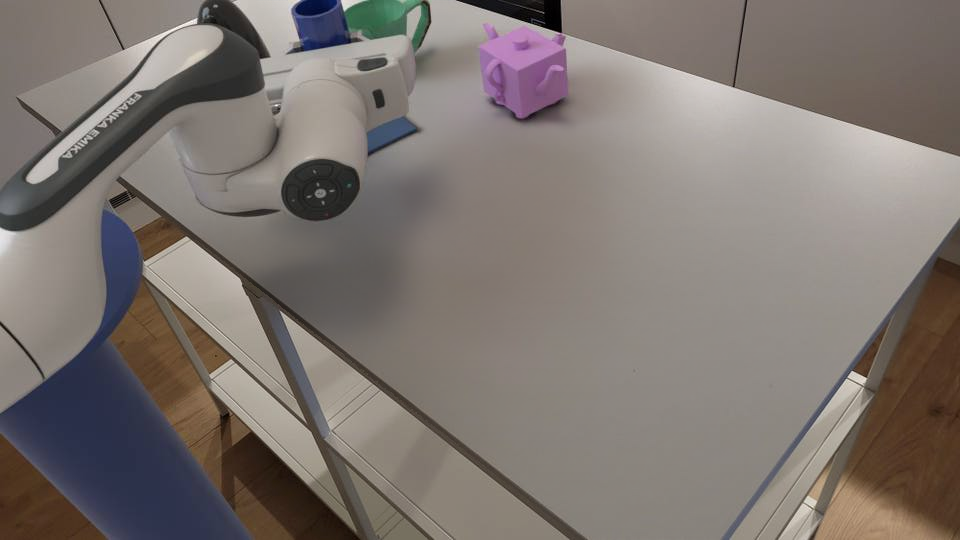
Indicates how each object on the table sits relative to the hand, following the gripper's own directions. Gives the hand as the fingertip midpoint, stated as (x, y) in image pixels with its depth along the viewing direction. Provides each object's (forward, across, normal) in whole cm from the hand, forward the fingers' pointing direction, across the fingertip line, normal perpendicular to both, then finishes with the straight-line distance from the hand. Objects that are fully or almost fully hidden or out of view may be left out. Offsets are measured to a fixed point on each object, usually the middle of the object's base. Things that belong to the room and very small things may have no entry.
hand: (328, 41), depth 91 cm
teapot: (+7, +24, -17) cm, 31 cm away
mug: (+22, +6, -17) cm, 29 cm away
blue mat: (+6, +1, -17) cm, 18 cm away
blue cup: (-1, 0, -6) cm, 6 cm away
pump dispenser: (+23, -18, -17) cm, 34 cm away
